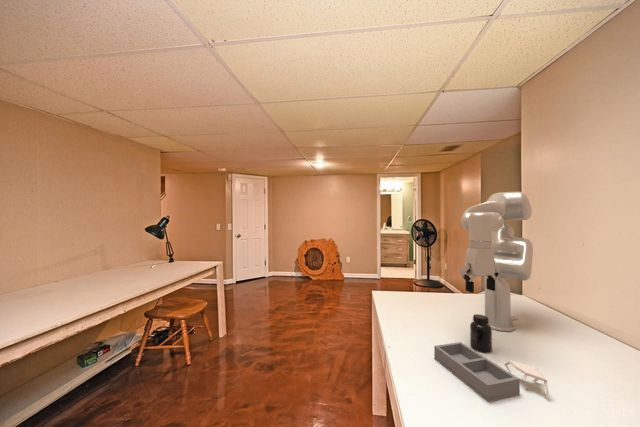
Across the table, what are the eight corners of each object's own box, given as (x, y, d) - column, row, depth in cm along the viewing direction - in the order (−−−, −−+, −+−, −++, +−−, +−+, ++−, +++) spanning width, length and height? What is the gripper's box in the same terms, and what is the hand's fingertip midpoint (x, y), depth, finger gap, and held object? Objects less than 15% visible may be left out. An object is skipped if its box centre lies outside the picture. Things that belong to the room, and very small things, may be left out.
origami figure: (557, 390, 72) (557, 373, 72) (547, 402, 68) (547, 383, 68) (508, 368, 82) (508, 353, 82) (496, 377, 78) (496, 362, 78)
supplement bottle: (495, 354, 91) (495, 321, 91) (474, 352, 92) (474, 319, 92) (486, 344, 97) (486, 313, 97) (467, 343, 99) (467, 312, 99)
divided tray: (460, 354, 91) (460, 341, 91) (519, 395, 70) (519, 378, 70) (434, 358, 88) (434, 345, 88) (487, 402, 68) (487, 385, 68)
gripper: (489, 243, 100) (490, 286, 100) (453, 244, 96) (453, 289, 96) (508, 245, 93) (508, 292, 93) (469, 247, 89) (469, 295, 89)
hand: (480, 290), depth 95 cm, fingers open, 9 cm apart
